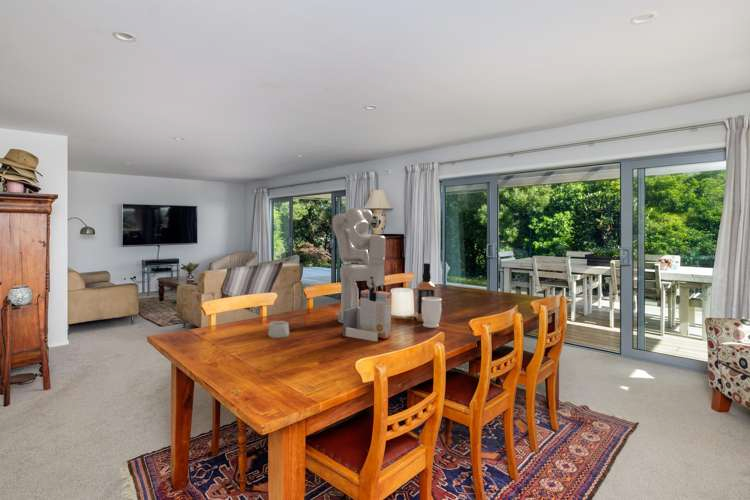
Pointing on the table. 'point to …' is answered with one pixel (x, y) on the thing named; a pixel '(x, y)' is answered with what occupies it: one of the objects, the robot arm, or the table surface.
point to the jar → (431, 311)
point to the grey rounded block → (278, 329)
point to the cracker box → (376, 313)
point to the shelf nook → (356, 326)
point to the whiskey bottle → (424, 290)
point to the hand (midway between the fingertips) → (376, 299)
